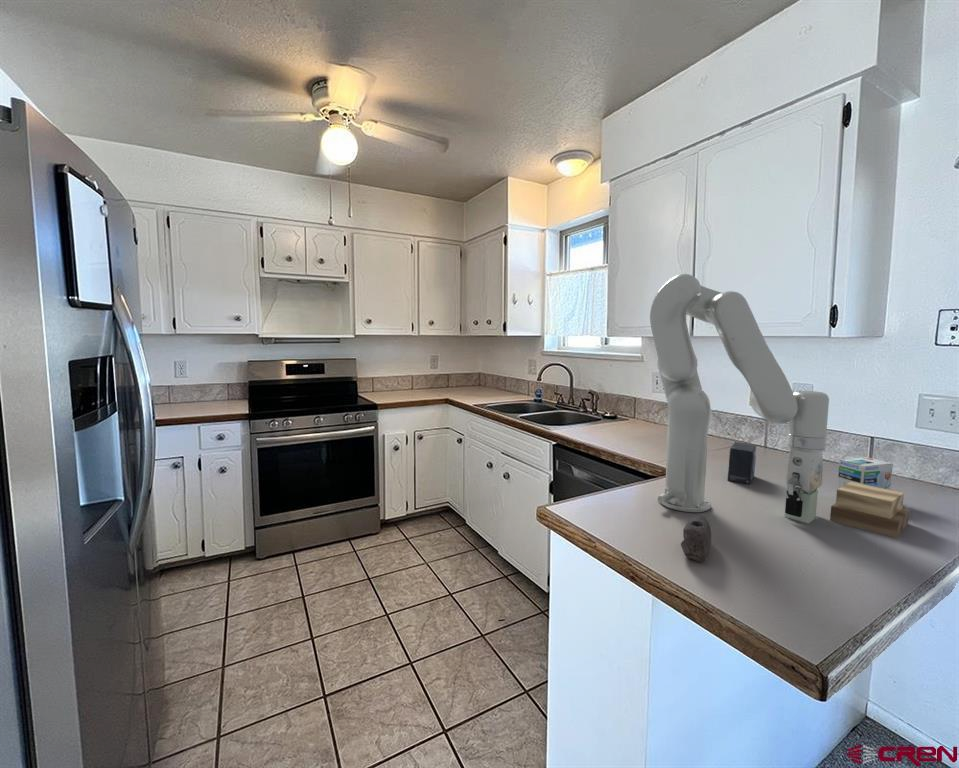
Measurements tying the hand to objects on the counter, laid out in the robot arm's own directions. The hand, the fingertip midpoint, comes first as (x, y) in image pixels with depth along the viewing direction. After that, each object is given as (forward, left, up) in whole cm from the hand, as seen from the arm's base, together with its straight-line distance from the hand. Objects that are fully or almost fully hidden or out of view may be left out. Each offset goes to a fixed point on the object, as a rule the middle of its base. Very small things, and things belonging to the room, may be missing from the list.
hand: (800, 510), depth 109 cm
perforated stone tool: (-37, +7, -2) cm, 38 cm away
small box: (+21, +22, -2) cm, 30 cm away
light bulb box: (+28, -6, -2) cm, 29 cm away
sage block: (0, 0, -2) cm, 2 cm away
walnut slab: (+10, -11, -2) cm, 15 cm away
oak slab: (+10, -11, +2) cm, 15 cm away
